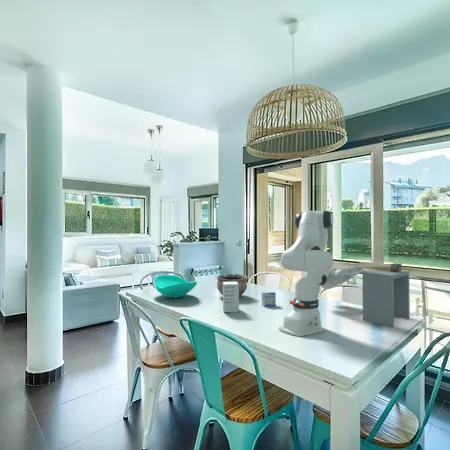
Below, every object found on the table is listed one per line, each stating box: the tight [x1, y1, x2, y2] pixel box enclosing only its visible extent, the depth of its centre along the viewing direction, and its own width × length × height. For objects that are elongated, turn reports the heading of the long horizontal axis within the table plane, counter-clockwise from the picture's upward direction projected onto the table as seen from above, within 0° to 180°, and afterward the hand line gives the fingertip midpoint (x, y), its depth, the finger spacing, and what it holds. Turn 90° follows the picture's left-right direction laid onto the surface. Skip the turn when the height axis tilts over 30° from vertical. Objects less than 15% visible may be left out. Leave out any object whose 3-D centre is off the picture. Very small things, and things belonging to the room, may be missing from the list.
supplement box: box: [222, 282, 240, 313], centre depth 182 cm, size 10×9×17 cm
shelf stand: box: [361, 269, 411, 328], centre depth 163 cm, size 22×15×26 cm
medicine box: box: [261, 291, 277, 308], centre depth 193 cm, size 8×4×9 cm, turn 106°
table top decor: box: [153, 274, 198, 298], centre depth 218 cm, size 40×28×13 cm
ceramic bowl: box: [216, 273, 248, 297], centre depth 217 cm, size 22×22×15 cm
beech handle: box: [359, 261, 402, 272], centre depth 170 cm, size 5×22×4 cm, turn 31°
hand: (360, 266), depth 180 cm, fingers open, 8 cm apart
